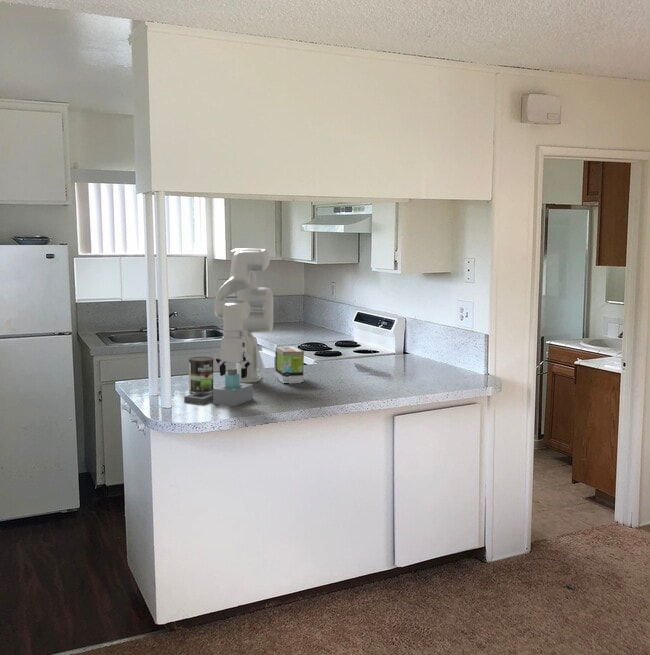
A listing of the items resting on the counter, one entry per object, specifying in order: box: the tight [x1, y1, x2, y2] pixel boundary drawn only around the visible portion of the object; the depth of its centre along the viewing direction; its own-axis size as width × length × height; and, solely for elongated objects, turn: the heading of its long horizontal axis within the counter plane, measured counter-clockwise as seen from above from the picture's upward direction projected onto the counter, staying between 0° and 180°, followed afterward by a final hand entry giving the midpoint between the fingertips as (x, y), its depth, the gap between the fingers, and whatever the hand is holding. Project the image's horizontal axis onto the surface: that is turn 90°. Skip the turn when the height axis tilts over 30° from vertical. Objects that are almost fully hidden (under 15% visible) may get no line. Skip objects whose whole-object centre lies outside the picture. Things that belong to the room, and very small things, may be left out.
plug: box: [224, 368, 241, 389], centre depth 283 cm, size 5×4×11 cm
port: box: [212, 382, 254, 407], centre depth 284 cm, size 14×10×6 cm
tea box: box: [274, 346, 305, 384], centre depth 324 cm, size 15×10×15 cm, turn 18°
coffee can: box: [188, 356, 215, 394], centre depth 300 cm, size 10×10×14 cm
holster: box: [183, 392, 213, 405], centre depth 284 cm, size 10×9×2 cm
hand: (233, 376), depth 284 cm, fingers open, 9 cm apart
